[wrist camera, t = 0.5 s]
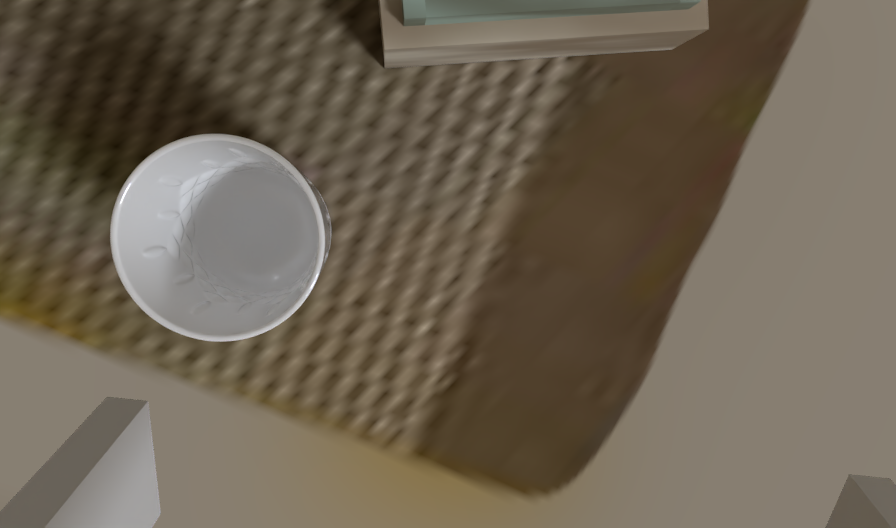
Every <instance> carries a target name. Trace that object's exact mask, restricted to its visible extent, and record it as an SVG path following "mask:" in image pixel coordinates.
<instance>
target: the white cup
mask: <svg viewBox="0 0 896 528" xmlns="http://www.w3.org/2000/svg"><path fill="white" fill-rule="evenodd" d="M331 234H332V229H331V222H330V216H329V213H328V210H327V205H326V203H325V202H324V200H323V198H322V196H321V195H320V193H319V191H318V190H317V189H316V187H315V186H314V185H313V184H312V182H311V181H310V180H309V179H308V178H307V177H306V176H305V175H304V174H303V173H302V172H301V171H300V170H299V169H297V168H296V167H295V166H293V165H292V164H291V163H290V162H289V161H288V160H286V159H285V158H284V157H283V156H281V155H280V154H278V153H277V152H275V151H274V150H272V149H270V148H269V147H267V146H265V145H263V144H261V143H258V142H256V141H253V140H251V139H247V138H244V137H240V136H235V135H229V134H200V135H194V136H189V137H185V138H182V139H179V140H176V141H174V142H171V143H169V144H167V145H165V146H163V147H161V148H160V149H158V150H156V151H155V152H153V153H152V154H151V155H149V156H148V157H147V158H146V159H144V160H143V161H142V162H141V163H140V164H139V165H138V166H137V167H136V168H135V169H134V171H133V172H132V173H131V174H130V176H129V177H128V178H127V180H126V181H125V183H124V185H123V187H122V188H121V190H120V192H119V195H118V197H117V199H116V202H115V205H114V209H113V213H112V218H111V226H110V243H111V251H112V256H113V260H114V264H115V267H116V270H117V273H118V275H119V277H120V279H121V281H122V283H123V285H124V287H125V289H126V290H127V292H128V293H129V295H130V296H131V297H132V299H133V300H134V301H135V302H136V304H137V305H138V306H139V307H140V308H141V309H142V310H143V311H144V312H145V313H146V314H148V315H149V316H150V317H151V318H153V319H154V320H155V321H157V322H158V323H160V324H161V325H163V326H165V327H166V328H168V329H170V330H172V331H174V332H177V333H179V334H182V335H184V336H188V337H191V338H195V339H200V340H206V341H235V340H241V339H246V338H250V337H253V336H256V335H259V334H262V333H264V332H266V331H268V330H270V329H272V328H274V327H276V326H277V325H279V324H280V323H282V322H283V321H285V320H286V319H287V318H289V317H290V316H291V315H292V314H293V313H294V312H295V311H296V310H297V309H298V308H299V307H300V306H301V305H302V303H303V302H304V301H305V300H306V298H307V297H308V295H309V294H310V292H311V291H312V289H313V287H314V285H315V283H316V281H317V279H318V277H319V275H320V273H321V271H322V269H323V267H324V265H325V262H326V259H327V256H328V253H329V249H330V243H331Z"/></svg>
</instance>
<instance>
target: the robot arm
mask: <svg viewBox="0 0 896 528" xmlns="http://www.w3.org/2000/svg"><path fill="white" fill-rule="evenodd" d="M160 514H161V512H160V503H159V494H158V485H157V476H156V467H155V458H154V449H153V441H152V431H151V423H150V413H149V405H148V401H143V400H133V399H123V398H114V397H107V398H106V399H105V400H104V401H103V402H102V403H101V404H100V405H99V406H98V407H97V408H96V409H95V410H94V411H93V413H92V414H91V415H90V416H89V417H88V418H87V419H86V420H85V421H84V422H83V423H82V424H81V425H80V426H79V428H78V429H77V430H76V431H75V432H74V433H73V434H72V435H71V436H70V437H69V439H67V441H66V442H65V443H64V444H63V445H62V446H61V447H60V448H59V449H58V450H57V451H56V452H55V453H54V455H52V457H51V458H50V459H49V460H48V461H47V462H46V463H45V464H44V465H43V466H42V467H41V468H40V469H39V470H38V472H37V473H36V474H35V475H34V476H33V477H32V478H31V479H30V480H29V481H28V482H27V483H26V484H25V486H24V487H23V488H22V489H21V490H20V491H19V492H18V493H17V494H16V495H15V496H14V497H13V499H11V501H10V502H9V503H8V504H7V505H6V506H5V507H4V508H3V509H2V510H1V511H0V528H152V527H153V525H154V524H155V522H156V520H157V519H158V517H159V515H160ZM825 528H896V485H895V484H894V483H893V481H892V480H891V479H889V478H880V477H870V476H860V475H851V474H850V475H849V476H848V478H847V480H846V483H845V485H844V487H843V489H842V492H841V494H840V496H839V499H838V501H837V503H836V505H835V507H834V510H833V512H832V514H831V516H830V519H829V521H828V523H827V526H826V527H825Z"/></svg>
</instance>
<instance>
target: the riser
mask: <svg viewBox="0 0 896 528" xmlns="http://www.w3.org/2000/svg"><path fill="white" fill-rule="evenodd" d="M378 3H379V14H380V24H381V35H382V46H383V57H384V67H385V68H398V67H413V66H428V65H443V64H458V63H474V62H489V61H504V60H519V59H534V58H550V57H565V56H580V55H595V54H610V53H625V52H641V51H656V50H671V49H674V48H675V47H677V46H679V45H681V44H683V43H684V42H686V41H688V40H690V39H692V38H694V37H695V36H697V35H699V34H701V33H703V32H704V31H706V30H708V29H709V21H708V0H378Z"/></svg>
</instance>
